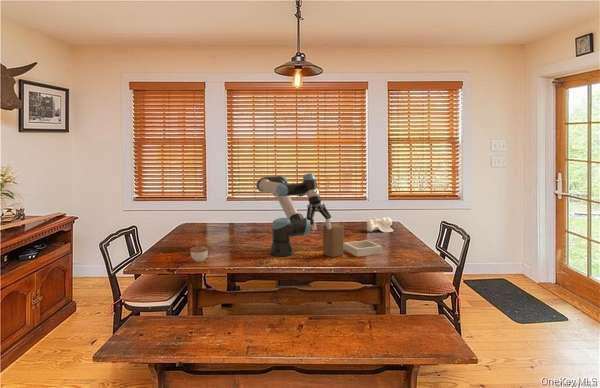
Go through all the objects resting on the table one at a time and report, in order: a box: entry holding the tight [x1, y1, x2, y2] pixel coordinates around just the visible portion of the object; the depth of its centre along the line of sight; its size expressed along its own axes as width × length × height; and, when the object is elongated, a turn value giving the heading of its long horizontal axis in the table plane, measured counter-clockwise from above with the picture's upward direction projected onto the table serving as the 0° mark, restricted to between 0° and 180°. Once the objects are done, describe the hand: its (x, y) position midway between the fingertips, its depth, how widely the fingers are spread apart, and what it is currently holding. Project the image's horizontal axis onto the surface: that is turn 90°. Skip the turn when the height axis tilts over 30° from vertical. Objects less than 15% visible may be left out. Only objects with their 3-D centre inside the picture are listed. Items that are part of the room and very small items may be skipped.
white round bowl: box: [189, 245, 209, 263], centre depth 252 cm, size 11×11×9 cm
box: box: [343, 239, 383, 258], centre depth 271 cm, size 19×19×5 cm
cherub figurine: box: [366, 217, 394, 233], centre depth 337 cm, size 13×12×20 cm
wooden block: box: [322, 223, 345, 259], centre depth 262 cm, size 10×10×20 cm
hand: (322, 229), depth 247 cm, fingers open, 13 cm apart
